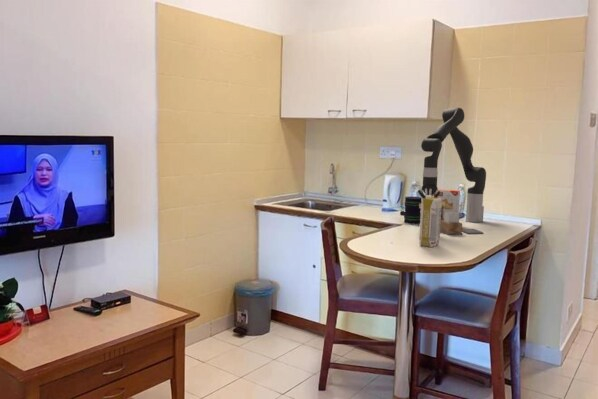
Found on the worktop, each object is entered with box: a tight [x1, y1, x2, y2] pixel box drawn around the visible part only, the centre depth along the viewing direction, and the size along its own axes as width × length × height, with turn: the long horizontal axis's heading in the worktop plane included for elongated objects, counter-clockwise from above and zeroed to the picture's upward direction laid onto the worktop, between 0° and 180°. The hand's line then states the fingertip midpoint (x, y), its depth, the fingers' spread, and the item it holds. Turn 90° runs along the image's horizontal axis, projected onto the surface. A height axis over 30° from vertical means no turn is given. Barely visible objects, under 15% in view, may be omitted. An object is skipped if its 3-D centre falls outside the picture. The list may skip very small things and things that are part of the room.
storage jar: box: [403, 196, 422, 225], centre depth 311 cm, size 10×10×15 cm
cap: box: [444, 212, 460, 223], centre depth 281 cm, size 6×5×5 cm
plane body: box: [440, 217, 464, 236], centre depth 287 cm, size 9×21×6 cm, turn 11°
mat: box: [462, 228, 485, 235], centre depth 285 cm, size 9×10×1 cm
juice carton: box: [418, 196, 442, 248], centre depth 249 cm, size 9×8×24 cm
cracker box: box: [433, 188, 461, 217], centre depth 304 cm, size 14×6×21 cm, turn 62°
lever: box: [419, 202, 445, 218], centre depth 289 cm, size 18×4×9 cm, turn 122°
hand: (428, 207), depth 283 cm, fingers closed
